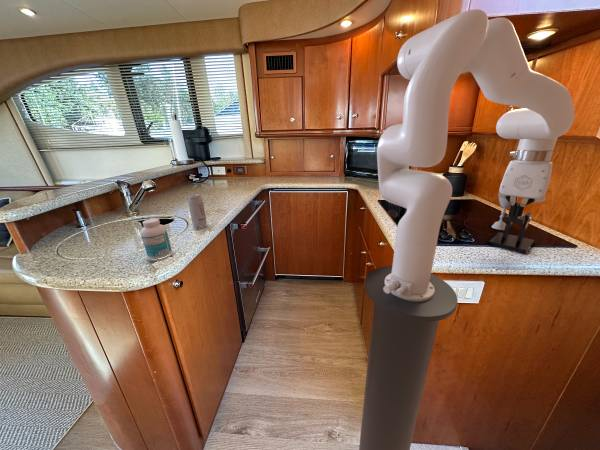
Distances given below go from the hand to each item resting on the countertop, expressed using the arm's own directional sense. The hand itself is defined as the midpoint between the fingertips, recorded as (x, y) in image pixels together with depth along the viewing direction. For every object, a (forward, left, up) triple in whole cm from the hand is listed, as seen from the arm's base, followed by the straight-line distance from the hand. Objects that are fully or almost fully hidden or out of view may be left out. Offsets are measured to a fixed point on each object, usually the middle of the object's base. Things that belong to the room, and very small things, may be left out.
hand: (514, 217), depth 74 cm
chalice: (+26, +7, -13) cm, 29 cm away
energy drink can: (-68, +96, -13) cm, 119 cm away
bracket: (+10, 0, -12) cm, 16 cm away
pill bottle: (-88, +75, -13) cm, 117 cm away
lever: (+5, 0, -3) cm, 6 cm away
